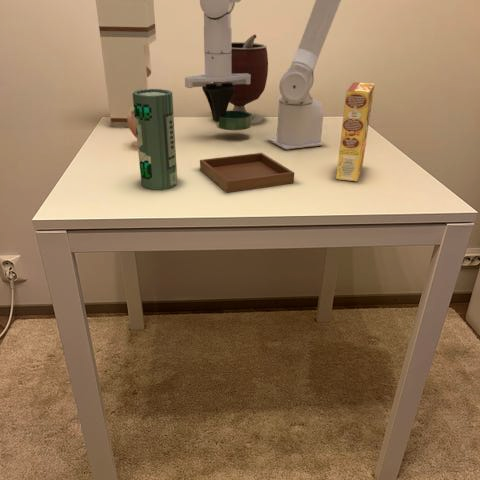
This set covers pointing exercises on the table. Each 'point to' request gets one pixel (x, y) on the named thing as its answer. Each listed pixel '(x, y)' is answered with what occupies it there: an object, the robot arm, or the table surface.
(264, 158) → the tray
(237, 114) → the green round bowl
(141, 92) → the can
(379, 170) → the table surface
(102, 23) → the striped cream pillar
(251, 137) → the table surface
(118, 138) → the table surface
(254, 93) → the mate gourd
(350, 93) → the candy box
